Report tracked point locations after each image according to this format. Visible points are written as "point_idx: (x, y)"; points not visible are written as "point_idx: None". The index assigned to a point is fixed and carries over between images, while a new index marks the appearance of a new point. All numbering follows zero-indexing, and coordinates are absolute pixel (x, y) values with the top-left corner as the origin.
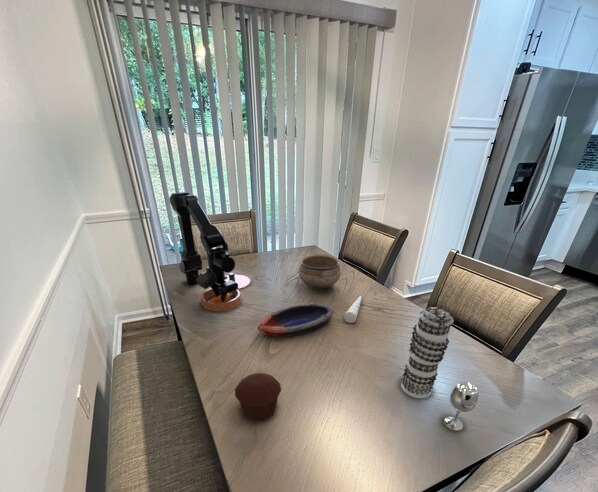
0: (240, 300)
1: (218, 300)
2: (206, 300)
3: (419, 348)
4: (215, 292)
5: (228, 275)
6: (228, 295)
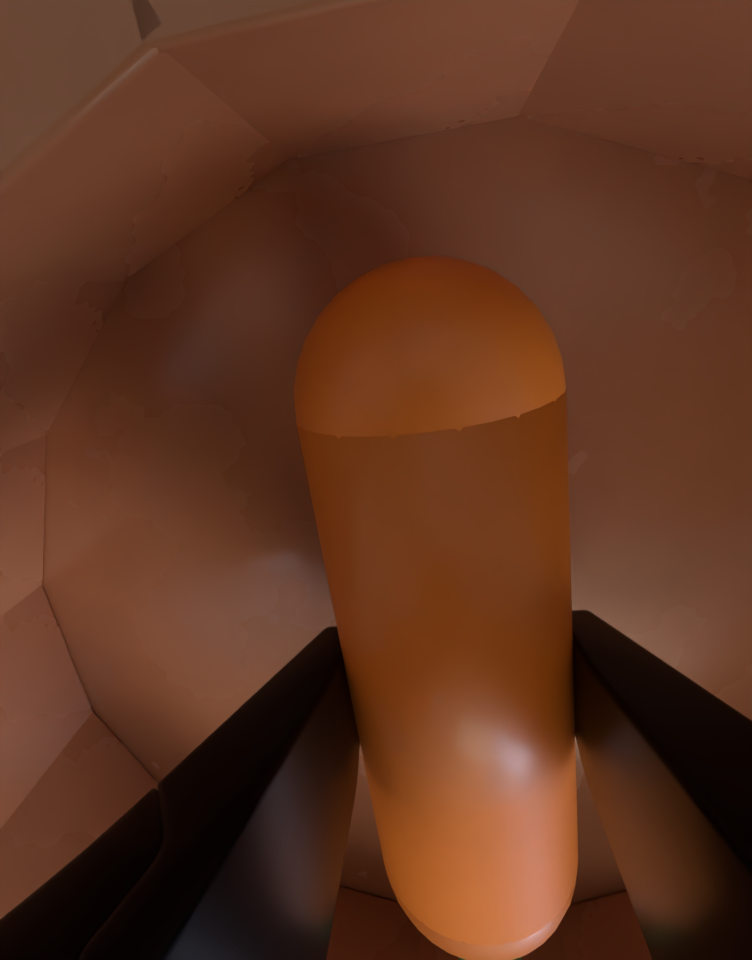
0: None
1: (327, 573)
2: (329, 2)
3: None
4: (682, 800)
5: None
6: (400, 898)
